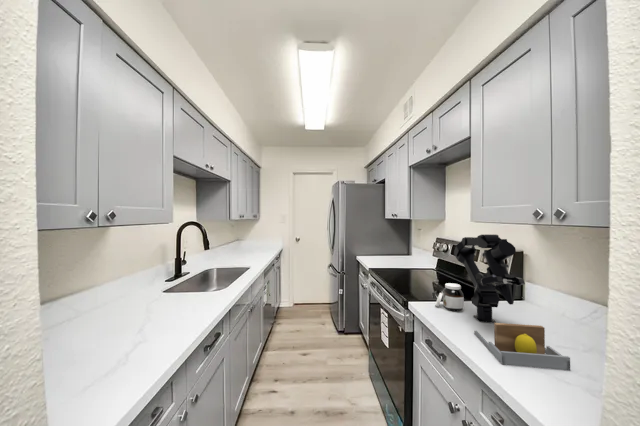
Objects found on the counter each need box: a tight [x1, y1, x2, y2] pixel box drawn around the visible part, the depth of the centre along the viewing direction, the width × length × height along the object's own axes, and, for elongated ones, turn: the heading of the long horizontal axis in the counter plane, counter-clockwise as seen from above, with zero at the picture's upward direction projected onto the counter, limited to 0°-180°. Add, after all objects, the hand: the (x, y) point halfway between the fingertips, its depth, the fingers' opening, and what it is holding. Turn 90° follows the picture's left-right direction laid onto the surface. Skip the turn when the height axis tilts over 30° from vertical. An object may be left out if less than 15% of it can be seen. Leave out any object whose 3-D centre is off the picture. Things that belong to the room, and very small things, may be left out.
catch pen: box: [473, 330, 571, 371], centre depth 89 cm, size 21×18×4 cm
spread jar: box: [435, 282, 465, 312], centre depth 129 cm, size 12×11×12 cm
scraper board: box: [493, 322, 546, 354], centre depth 87 cm, size 2×14×9 cm, turn 80°
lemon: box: [515, 334, 537, 354], centre depth 83 cm, size 6×6×8 cm
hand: (511, 304), depth 99 cm, fingers closed
